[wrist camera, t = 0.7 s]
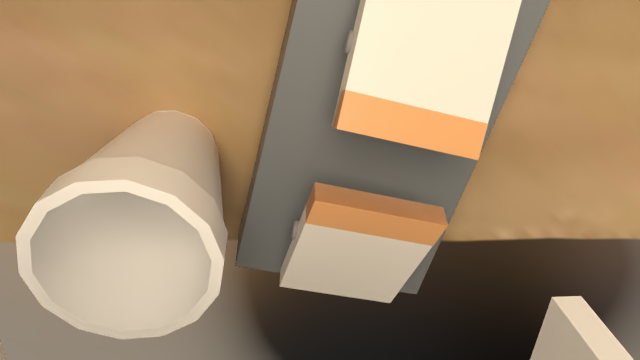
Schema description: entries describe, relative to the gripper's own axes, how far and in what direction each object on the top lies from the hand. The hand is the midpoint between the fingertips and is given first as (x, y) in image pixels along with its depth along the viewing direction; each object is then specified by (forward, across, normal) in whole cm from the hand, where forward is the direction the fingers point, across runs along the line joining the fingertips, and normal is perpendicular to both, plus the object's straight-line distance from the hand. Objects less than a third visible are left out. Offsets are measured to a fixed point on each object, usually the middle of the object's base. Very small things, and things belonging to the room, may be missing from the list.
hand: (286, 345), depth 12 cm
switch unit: (+23, +6, -3) cm, 24 cm away
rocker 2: (+17, +5, -9) cm, 20 cm away
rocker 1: (+17, +8, +3) cm, 19 cm away
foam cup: (+24, -7, -6) cm, 25 cm away
